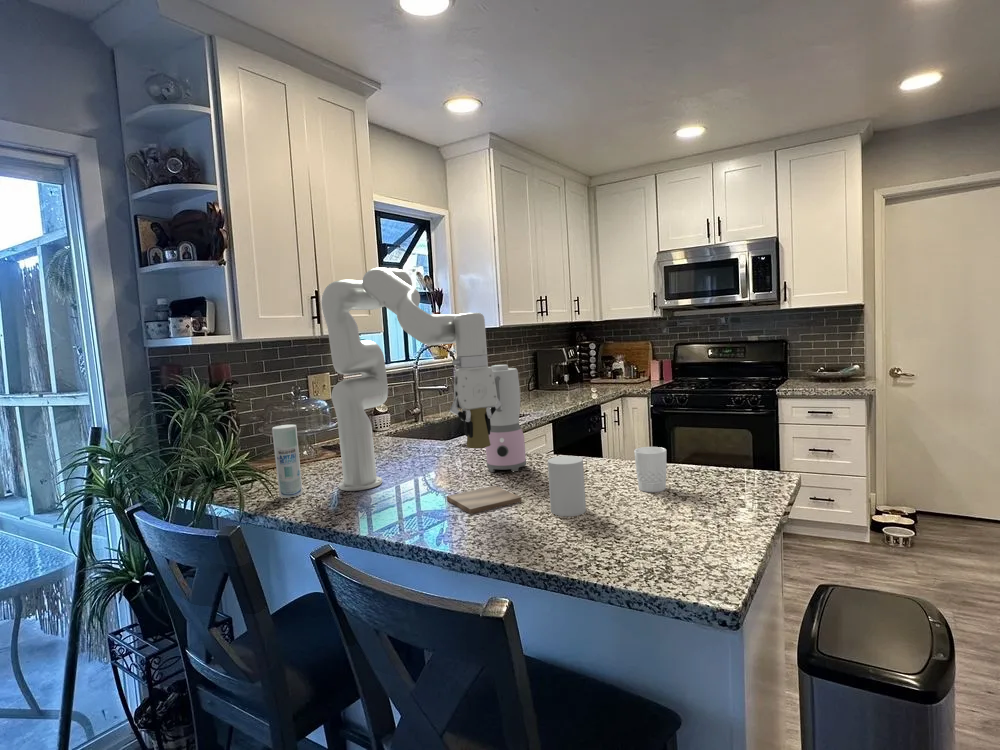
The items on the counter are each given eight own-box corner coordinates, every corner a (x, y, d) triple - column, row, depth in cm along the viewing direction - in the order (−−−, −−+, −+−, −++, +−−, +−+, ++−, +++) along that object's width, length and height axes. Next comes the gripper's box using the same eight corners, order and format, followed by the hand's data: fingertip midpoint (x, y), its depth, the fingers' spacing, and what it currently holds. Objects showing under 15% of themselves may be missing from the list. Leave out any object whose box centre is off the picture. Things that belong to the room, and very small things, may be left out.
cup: (588, 505, 136) (585, 455, 135) (582, 517, 128) (579, 464, 127) (555, 504, 139) (552, 455, 138) (547, 515, 131) (543, 464, 130)
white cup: (633, 492, 144) (631, 453, 143) (638, 483, 151) (636, 446, 150) (666, 493, 141) (664, 453, 140) (669, 484, 148) (667, 446, 147)
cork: (491, 442, 147) (488, 400, 146) (489, 447, 141) (485, 403, 140) (468, 443, 148) (465, 401, 147) (464, 448, 142) (461, 404, 141)
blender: (491, 464, 185) (483, 365, 182) (528, 462, 183) (521, 362, 180) (481, 477, 169) (473, 369, 167) (522, 476, 167) (514, 366, 165)
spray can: (302, 490, 169) (295, 423, 167) (304, 496, 163) (297, 426, 161) (278, 494, 166) (271, 426, 164) (279, 500, 160) (272, 429, 158)
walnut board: (447, 500, 148) (446, 496, 148) (494, 489, 155) (494, 485, 155) (470, 514, 136) (470, 509, 136) (521, 501, 143) (521, 497, 143)
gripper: (447, 366, 135) (453, 442, 137) (509, 360, 143) (514, 432, 145) (435, 365, 142) (441, 438, 144) (495, 359, 150) (500, 428, 151)
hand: (477, 434), depth 144 cm, fingers closed on cork, 4 cm apart
